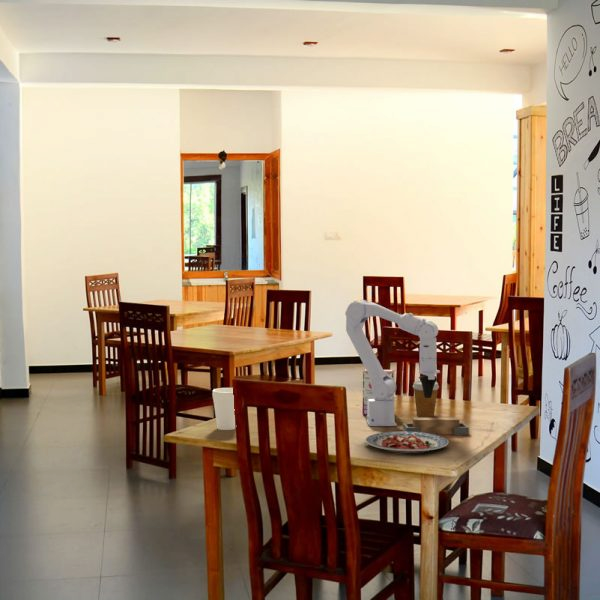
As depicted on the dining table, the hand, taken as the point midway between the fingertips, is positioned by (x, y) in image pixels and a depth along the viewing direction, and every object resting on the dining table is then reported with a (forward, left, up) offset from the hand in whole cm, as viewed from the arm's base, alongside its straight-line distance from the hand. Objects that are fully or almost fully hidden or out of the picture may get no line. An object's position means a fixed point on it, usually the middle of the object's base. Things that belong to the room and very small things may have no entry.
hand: (427, 397), depth 314 cm
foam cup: (-68, +1, -11) cm, 69 cm away
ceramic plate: (-11, -27, -11) cm, 31 cm away
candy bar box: (-14, +23, -11) cm, 29 cm away
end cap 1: (-6, -8, -10) cm, 14 cm away
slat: (+1, -8, -11) cm, 13 cm away
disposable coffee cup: (+3, +21, -11) cm, 24 cm away
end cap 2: (+9, -8, -10) cm, 16 cm away
